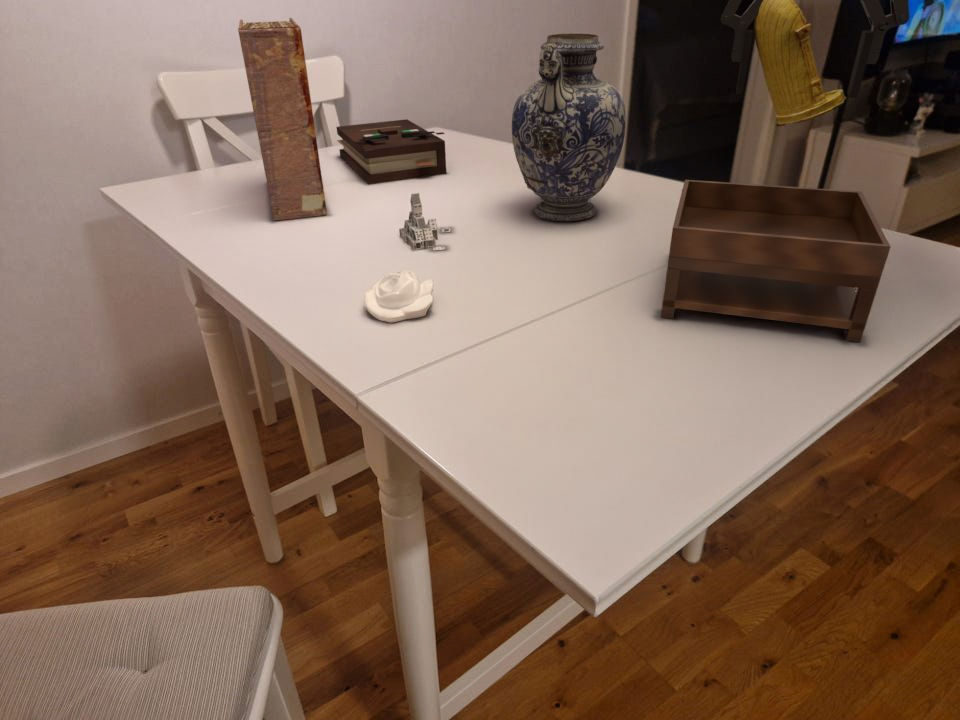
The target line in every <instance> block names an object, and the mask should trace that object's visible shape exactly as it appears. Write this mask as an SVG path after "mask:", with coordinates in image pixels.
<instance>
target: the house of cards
mask: <svg viewBox="0 0 960 720" xmlns="http://www.w3.org/2000/svg"><path fill="white" fill-rule="evenodd" d="M422 204H423V203H422V200H421V195H420V192H417V193H410V210H411V211H408V212H409V214H408V219H405V220H404V224H403V225H404V226H403V227H402V228H399V229H398V233H399V237H401V238H402V239H403V240H404V241H405V243H406V244H408V245H409V246H410V247H411V248H412V251H418V250H424V249H428V248H432V250H433V251H443V250H446V248H445V246H437V241H438V240H439V235H438V233H439V232H438V230H439V226H438V222H437V218H429V219H427V224H426V221H425V217H424V215H423V205H422ZM442 233H451V228H450V227H449V228H448V227H447V228H442Z"/></svg>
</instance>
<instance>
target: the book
mask: <svg viewBox="0 0 960 720" xmlns="http://www.w3.org/2000/svg"><path fill="white" fill-rule="evenodd" d="M288 19H289V20H281V21H280V20H279V21H277V20H276V21H255V22H253V21H252V22H244V21H243V19H239V23H238V27H237V31H238V37H239V41H240V47H241V53H242V58H243V63H244V68H245V74H246V79H247V85H248V90H249V95H250V100H251V105H252V111H253V116H254V122H255V127H256V133H257V137H258V142H259V147H260V153H261V159H262V164H263V170H264V174H265V175H264V176H265V180H266V186H267V191H268V196H269V201H270V202H269V203H270V206H271V212H272V218H273V221H274V222H275V221H282V220H292V219H300V218H301V219H302V218H311V217H319V216H327V215H328V211H327V203H326V198H325V191H324V183H323V177H322V169H321V163H320V155H319V149H318V148H319V147H318V141H317V133H316V127H315V119H314V112H313V106H312V98H311V92H310V85H309V78H308V70H307V69H308V68H307V62H306V57H305V56H306V55H305V49H304V41H303V35H302V29H301V26H299V24H298V23H297V22H296V21H295V20H294V19H293V17H289V18H288Z"/></svg>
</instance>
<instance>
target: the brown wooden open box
mask: <svg viewBox="0 0 960 720" xmlns="http://www.w3.org/2000/svg"><path fill="white" fill-rule="evenodd" d="M890 250H891V244H890V243H889V241H888V239H887V237H886V235H885V232H884V231H883V229H882V227H881V225H880V224H879V222H878V220H877V217H876V216H875V214H874V212H873V210H872V208H871V206H870V204H869V203H868V200H867V199H866V196H865V195H864V192H863V191H861V190H859V191H858V190H846V189H844V190H843V189H832V188H831V189H830V188H815V187H801V186H800V187H799V186H786V185H783V186H782V185H769V184H756V183H742V182H741V183H739V182H725V181H713V180H711V181H709V180H696V179H695V180H694V179H684V181H683V185H682V190H681V193H680V197H679V202H678V205H677V209H676V213H675V218H674V221H673V225H672V230H671V237H670V246H669V253H668V260H667V266H666V275H665V281H664V288H663V289H664V290H663V297H662V305H661V312H660V318H663V319H671V320H673V319H674V316H675V311H676V309H681V310H688V311H696V312H706V313H713V314H721V315H730V316H738V317H746V318H754V319H762V320H771V321H780V322H785V323H786V322H787V323H795V324H805V325H811V326H818V327H819V326H820V327H829V328H836V329H837V328H838V329H845V330H844V335H843V336H844V339H845V341H846V342H853V343H861V341H862V338H863V335H864V333H865V332H864V331H865V329H866V326H867V323H868V319H869V316H870V314H871V310H872V307H873V303H874V301H875V297H876V295H877V290H878V288H879V285H880V282H881V277H882V276H883V272H884V269H885V265H886V263H887V259H888V256H889V253H890ZM856 289H857V291H856Z"/></svg>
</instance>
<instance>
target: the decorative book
mask: <svg viewBox="0 0 960 720" xmlns="http://www.w3.org/2000/svg"><path fill="white" fill-rule="evenodd" d="M336 134H337V136H339V138H341V139H337V140H336V142H337V143H339V144H340V145H341V146H342V147H343V148H340V149H338V150H339V157H340V158H341V159H342V160H343V161H344V162H345V163H346V164H347V165H348V166H349V167H350V168H351V169H352V170H353V171H354V172H355V173H356V174H357V175H358V176H359V177H360V178H361V179H363V180H364V181H365V182H366V184H368V185H375V184H382V183H383V184H384V183H389V182H397V181H403V180H413V179H419V178H426V177H427V178H428V177H433V176H440V175H446V174H447V157H446V140H445V139H443V138H440V137H439V136H437V135H446V133H445V132H442V131H441V132H435V131H428V130H427V129H425V128H423V127H421V126H419V125H418V124H416V123H414V122H413V121H411V120H409V119H398V120H397V119H396V120H387V121H377V122H368V123H359V124H358V123H357V124H350V125H349V124H348V125H338V126H336ZM435 134H436V135H435Z"/></svg>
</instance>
